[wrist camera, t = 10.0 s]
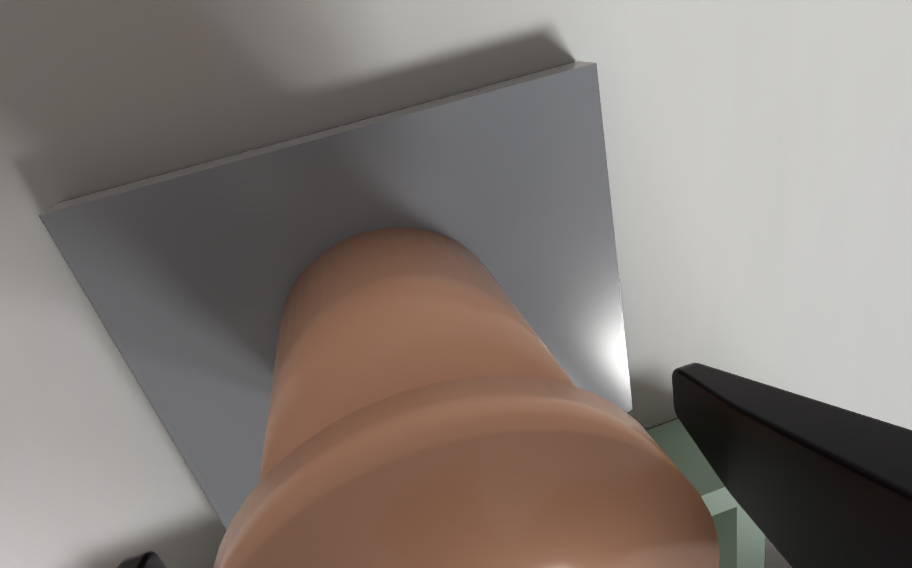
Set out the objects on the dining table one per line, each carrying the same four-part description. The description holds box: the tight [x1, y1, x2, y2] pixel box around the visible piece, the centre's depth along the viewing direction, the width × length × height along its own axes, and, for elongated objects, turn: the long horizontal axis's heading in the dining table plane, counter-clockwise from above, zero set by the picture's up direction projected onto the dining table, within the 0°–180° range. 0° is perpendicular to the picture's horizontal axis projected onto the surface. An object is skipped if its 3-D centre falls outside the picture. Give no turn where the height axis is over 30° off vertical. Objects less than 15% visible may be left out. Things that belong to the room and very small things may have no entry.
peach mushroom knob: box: [213, 227, 720, 568], centre depth 10 cm, size 6×6×8 cm
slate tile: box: [39, 61, 633, 530], centre depth 14 cm, size 12×10×1 cm
